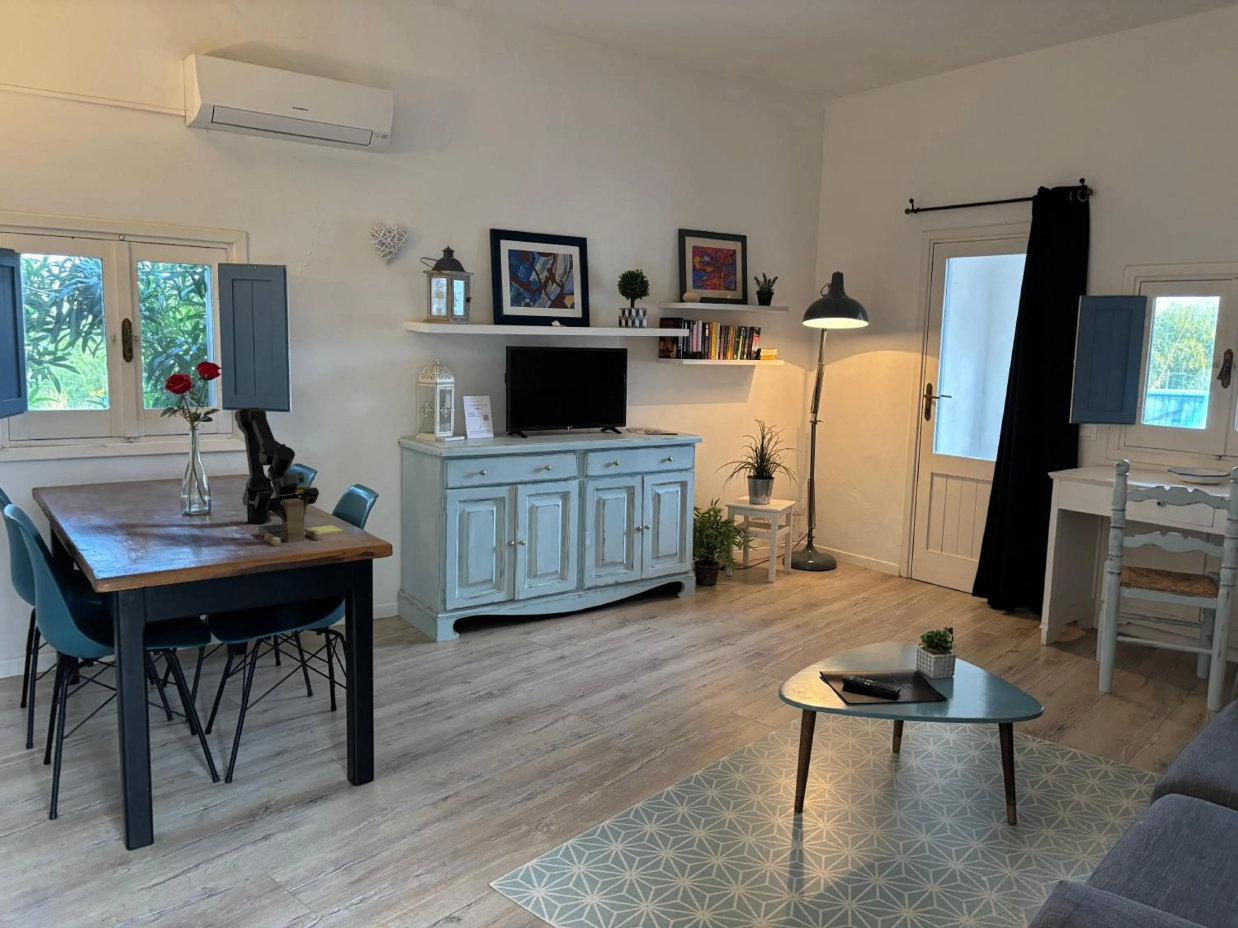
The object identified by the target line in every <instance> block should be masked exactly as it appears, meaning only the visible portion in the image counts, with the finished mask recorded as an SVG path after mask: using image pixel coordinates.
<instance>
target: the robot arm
mask: <svg viewBox="0 0 1238 928" xmlns="http://www.w3.org/2000/svg"><path fill="white" fill-rule="evenodd" d="M234 420H235V422H236V423H237V428H238V429H239V430H240V432H242V434H243V435H244V444H245V452H246V458H247V466H248V474H249V477H248V478H247V479H248V480H247V482H245V489H244V492H243V495H242V497H241V498H242V499H241V500H242V505H243V506H246V517H247V520H246V521H244V523H245V524H254V525H256V524H257V525H258V524H259V525H263V524H266V523H269V522H271V521H272V518H271V517H272V514H271V512H272V513H273V514H275V515H276V516H278V517H279V519H281V521H282V520H283V521H285V522H286V521H287V518H286V515H285V512H284V510H283V507H282V501H281V500H288V499H300V500H303V502H304V514H306V513H305V506H306V505H307V504H310V505H313V504H316V502H317V500H318V498H319V495H320V490H319V489H318V488H317V487H315V486H314V487H312V488H304V491H303V493H295V491H297V489H298V488H297V487H299V486H300V484H303V483H304V482H305V475H304V474H303V472H296V473H294V474H293V473H292V474H289V470H290V469H291V467H292V465H293V462H294V459H295V456H296V452H295V450H294V449H293V448H291V447H289V446H287V445H286V444H285V443H281V442H279V441H278V440H276V439H275V437H274V434H273V432H272V429H271V427H270V424H269V421H268V419H267V412H266V410H264V409H260V408H259V406H258V407H254V406H253V407H238V409H237V410H236V411H235V412H234ZM265 466H266V467H267V466H269V467H268V468H267V475H266V474H265V471H264V470H265V469H264V467H265Z"/></svg>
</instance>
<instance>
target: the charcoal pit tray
mask: <svg viewBox="0 0 1238 928" xmlns="http://www.w3.org/2000/svg"><path fill="white" fill-rule="evenodd" d="M257 527H258V535H260V534H261V535H262V536H261V535H260V536H261V537H263V536H264V534H266V533H270V534H272V535H274V536H276V537H281V538H283V530H282V523H277V524H274V523H273V524H267V525H259V526H257Z"/></svg>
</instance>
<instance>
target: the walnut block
mask: <svg viewBox="0 0 1238 928" xmlns="http://www.w3.org/2000/svg"><path fill="white" fill-rule="evenodd" d="M281 501H282V502H281V505H282V507H283V510H284V512H285V515H286V518H287V521H286V522H285V521H283V520H282V519H281V524H282V530H283V537H282V540H283V541H285V542H287V543H295V542H303V541H305V539H306V538H305V536H306V533H305V513H304V502H303V500H300V499H288V500H281Z"/></svg>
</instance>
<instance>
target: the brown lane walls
mask: <svg viewBox="0 0 1238 928" xmlns="http://www.w3.org/2000/svg"><path fill="white" fill-rule="evenodd" d="M307 528H308V529H306V530H305V536H307V537H310V538H311V539H314V540H316V541H323V540H324V538H323V535H324V534H322V533H320V532H318V531H316V530H313V529H311V528H312V527H307ZM263 538H264V541H265V540H266V541H265V542H267V541H268V543H269V542H270V543H269V544H271V545H273V546H275V547H279V546H281V545H282V543H281V542H282V540H281V538H278V537H276V536H274V535H272V534H270V533H266V534H264V537H263Z"/></svg>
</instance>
